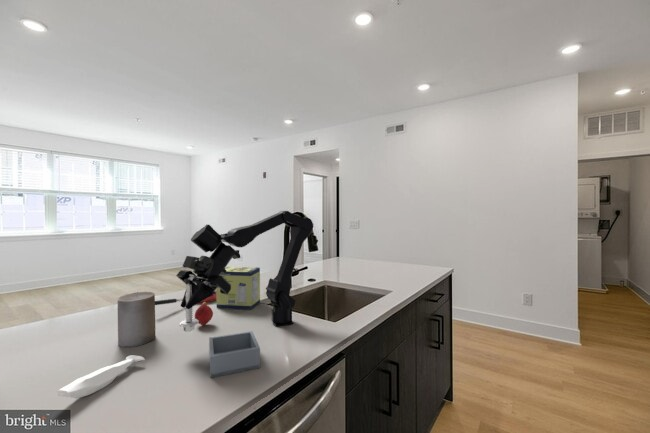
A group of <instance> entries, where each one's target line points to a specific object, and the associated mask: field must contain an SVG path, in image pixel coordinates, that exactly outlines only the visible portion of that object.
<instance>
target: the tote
mask: <svg viewBox="0 0 650 433" xmlns="http://www.w3.org/2000/svg"><path fill="white" fill-rule="evenodd" d="M208 341H209V342H208V356H209V359H208V360H209V376H210V378H211V379H212V378H217V377H222V376H226V375H232V374H237V373H242V372H246V371H251V370H255V369H260V368H261V348H260V345H259V342H258V340H257V338H256V336H255V333H254V331H253V330H250V331H244V332H238V333H237V332H236V333H231V334H230V333H229V334H224V335H219V336H218V335H217V336H212V337H209V338H208Z"/></svg>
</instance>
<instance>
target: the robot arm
mask: <svg viewBox="0 0 650 433" xmlns="http://www.w3.org/2000/svg"><path fill="white" fill-rule="evenodd" d="M283 224H284V225H286V226H287V227H290V230H289V234H290V235H289V236H290V239H289V242H288V245H287V248H286V250H285V252H284V256H283V259H282V261H281V263H280V267H279V269H278V272H277V274H276V276H275V277H274V278H269V279H268V284H267V286H266V288H265V290H266V292H265V295H266V298H267V299H268V300H270V303H271V304H272V309H271V322H272V323H273V325H274V326H275V327H281V326H288V325H293V324H294V321H293V308H294V307H295V304H296V300H295V299H294V298H293V297H292V296H291V295H290V294H291V277H292V274H293V272H294V269H295V268H296V263H297V261H298V257H299V255H300V252H301V249H302V247H303V243H304V242H305V241H306V240H307V239H308V238H309V237H310V235H311V234H312V231H313V228H314V223H313V220H312V219H311V218H309V217H303V216H301V215H298V214H295V213H292V211H291V212H290V211H288V210H280V211H278V212H277V213H274V214H272V215H269V216H267V217H266V218H264V219H261V220H259V221H256V222H254V223H252V224H250V225H249V224H248V225H245V226H239V227H235V228H231V229H229V230H228V231H227V232H226V233H218V232H217V231H216V230H215V229H214V228H213V226H211V225H210V224H206V225H204V226H203V227H202V228H200V229H199V230H198V231H196V232H195V233H194V234H193V235H192V237H191V238H190V242H191V243H193V244H195V245H196V246H197V247H198V248H199V249H201V251H203V252H205V253H208V252H210V253H211V255H210V256H208V255H200V257H196V256H190V255H186V257H185V259H184V261H183V264H182V268H186V269H182V270H181V269H180V270H179V272H178V273H177V274H176V276H175V277H176V278H178V279H179V281H180V280H181V281H182V282H183V283H184V284H185V285H187V284H191V292H192V294H193V295H192V297H191V298H190V300H189V301H188V303H187V305H186V303H185V302H186V301H185V300H186V299H185V298H186V290H185V292H184V295H183V296H182V298H183V300H182V301H181V303H180V307H181V308H182V309H183V308H185V309H186V308H187V309H190V308H191V307H192V308H194V306H196V305H198V304H200V303H199V302H201V301H203V300H204V299H206V298H208V297H210V296H211V295H215V294H216V293H215V290H216V289H217V288H218V287H219V288H220V293H221V294H226V295H228V293H229V292H230V290H231V284H230V283H229V282H228V281H227V280H226V279H225V278H224V277H223V276H220V274H221V273H225V272H226V270H225V268H226V267H228V265H229V263H230V262H231V260H232V259H233V260H236V259H241V254H240V250H239V249H235V248H233V247H237V248H244V247H246V246H248V245H249V244H250V243H252V242H253V241H254V240H255V239H256V238H257V237H258V236H259V235H260V236H261V235H262V234H265V233H266V232H268V231H271V230H272V229H274V228H276V227H279V226H281V225H283ZM225 243H226V244H225ZM227 244H228V245H227ZM232 246H233V247H232ZM187 268H188V269H187ZM189 269H191V270H189ZM192 270H193V271H192Z"/></svg>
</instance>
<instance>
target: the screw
mask: <svg viewBox="0 0 650 433" xmlns="http://www.w3.org/2000/svg"><path fill="white" fill-rule="evenodd" d="M185 285H186V284H185ZM185 291H186V298H185V299H186V300H185V301H186V302H185V303H186V305H187V303H188V301H189V300H190V298H191V297H192V295H193V294H192V292H191V284H187V285H186V287H185ZM193 311H194V309H193V307H191V308H190V309H187V308H186V307H185V319H183V320H181V322H179V326H180V327H182V328H183V331H184V332H185V333H186V332H192V331H194V330H195V329H196V328H195V326H196V325H199V321H198V320H197V319H195V318H193V316H194V315H193Z"/></svg>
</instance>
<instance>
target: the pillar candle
mask: <svg viewBox="0 0 650 433" xmlns="http://www.w3.org/2000/svg"><path fill="white" fill-rule="evenodd" d="M155 296H156V295H155V293H154V292H152V291H137V292H133V293H127V294H124V295H121V296H120V297H118V298H117V299H116V301H117V345H118V346H119V347H123V348H125V347H130V348H132V347H133V348H135V347H139V346H142V345H145V344H148V343H149V342H152V341H153V340H154V339H155V338H156V305H155V301H156V298H155Z"/></svg>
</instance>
